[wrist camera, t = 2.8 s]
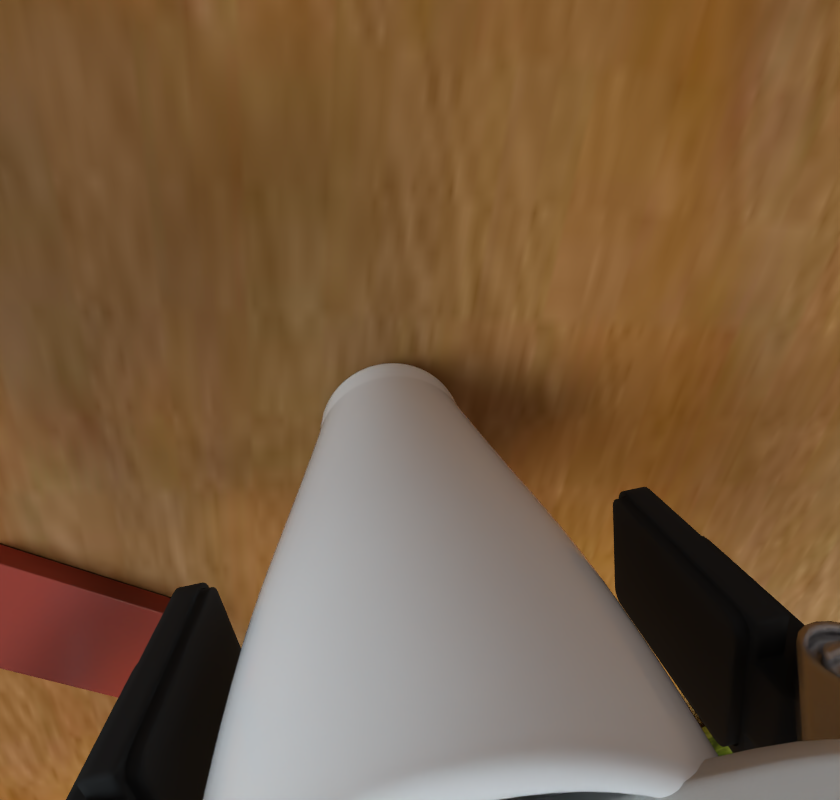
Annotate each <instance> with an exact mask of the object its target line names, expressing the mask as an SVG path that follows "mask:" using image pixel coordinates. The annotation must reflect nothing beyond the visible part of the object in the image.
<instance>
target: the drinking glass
mask: <svg viewBox="0 0 840 800" xmlns="http://www.w3.org/2000/svg"><path fill="white" fill-rule="evenodd" d="M714 757H718V754H717V752H716V751H715V749H714V748H713V746H712V744H711V743H710V741H709V739H708V738H707V736H706V735H705V733H704V731H703V730H702V728H701V727H700V725H699V723H698V722H697V720H696V719H695V717H694V715H693V714H692V712H691V711H690V709H689V707H688V706H687V704H686V703H685V701H684V699H683V698H682V696H681V695H680V693H679V692H678V690H677V688H676V687H675V685H674V684H673V682H672V681H671V679H670V677H669V676H668V674H667V673H666V671H665V670H664V668H663V667H662V665H661V664H660V662H659V661H658V659H657V658H656V656H655V655H654V653H653V652H652V650H651V649H650V647H649V645H648V644H647V642H646V641H645V640H644V638H643V637H642V635H641V634H640V632H639V631H638V629H637V628H636V626H635V625H634V623H633V622H632V621H631V619H630V618H629V616H628V615H627V613H626V612H625V610H624V609H623V608H622V606H621V605H620V603H619V602H618V601H617V599H616V598H615V596H614V595H613V594H612V592H611V591H610V589H609V588H608V587H607V585H606V584H605V583H604V581H603V580H602V578H601V577H600V576H599V574H598V573H597V572H596V570H595V569H594V568H593V566H592V565H591V564H590V562H589V561H588V560H587V558H586V557H585V556H584V554H583V553H582V552H581V551H580V549H579V548H578V547H577V546H576V544H575V543H574V542H573V541H572V539H571V538H570V537H569V535H568V534H567V533H566V532H565V531H564V529H563V528H562V527H561V526H560V525H559V523H558V522H557V521H556V520H555V519H554V518H553V516H552V515H551V514H550V513H549V512H548V510H547V509H546V508H545V507H544V506H543V505H542V503H541V502H540V501H539V500H538V499H537V498H536V497H535V495H534V494H533V493H532V492H531V491H530V490H529V489H528V487H527V486H526V485H525V484H524V483H523V482H522V480H521V479H520V478H519V477H518V476H517V475H516V474H515V472H514V471H513V470H512V469H511V468H510V467H509V466H508V464H507V463H506V462H505V461H504V460H503V459H502V458H501V456H500V455H499V454H498V453H497V452H496V451H495V449H494V448H493V447H492V446H491V445H490V444H489V442H488V441H487V440H486V439H485V438H484V437H483V435H482V434H481V433H480V432H479V431H478V429H477V428H476V427H475V426H474V425H473V424H472V422H471V421H470V420H469V419H468V418H467V416H466V415H465V414H464V413H463V412H462V410H461V409H460V408H459V407H458V405H457V403H456V401H455V400H454V398H453V396H452V395H451V393H450V392H449V390H448V389H447V388H446V387H445V386H444V385H443V384H442V382H440V381H439V380H438V379H437V378H436V377H434V376H433V375H431V374H430V373H428V372H426V371H425V370H422V369H420V368H418V367H414V366H411V365H407V364H400V363H385V364H378V365H374V366H370V367H368V368H365V369H363V370H360V371H358V372H357V373H355V374H353V375H352V376H350V377H349V378H347V379H346V380H345V381H344V382H343V383H342V384H341V385H340V386H339V387H338V388H337V389H336V390H335V392H334V393H333V394H332V396H331V398H330V399H329V401H328V403H327V405H326V407H325V410H324V413H323V417H322V422H321V427H320V433H319V436H318V439H317V441H316V444H315V447H314V450H313V452H312V455H311V458H310V460H309V463H308V466H307V469H306V471H305V474H304V477H303V479H302V482H301V484H300V487H299V490H298V492H297V495H296V498H295V500H294V503H293V505H292V508H291V511H290V513H289V516H288V518H287V521H286V524H285V526H284V529H283V531H282V534H281V537H280V539H279V542H278V544H277V547H276V550H275V552H274V555H273V558H272V560H271V563H270V566H269V568H268V571H267V574H266V576H265V579H264V582H263V585H262V587H261V590H260V593H259V596H258V599H257V602H256V605H255V608H254V611H253V614H252V617H251V620H250V623H249V626H248V629H247V632H246V635H245V638H244V642H243V645H242V648H241V651H240V655H239V658H238V661H237V665H236V668H235V672H234V675H233V679H232V682H231V686H230V690H229V693H228V697H227V701H226V704H225V708H224V712H223V716H222V720H221V724H220V728H219V732H218V736H217V740H216V744H215V748H214V752H213V756H212V761H211V765H210V769H209V773H208V777H207V782H206V786H205V791H204V795H203V800H538V799H542V798H546V797H551V796H555V795H559V794H563V793H567V792H610V793H623V794H631V795H640V796H647V797H651V798H663V797H667V796H669V795H672V794H673V793H675V792H676V791H678V790H679V789H680V787H681V786H682V784H683V783H684V782H685V781H686V780H688V779H689V778H690V777H692V776H693V775H694V774H695V773H696V772H697V770H698V768H699V767H700V765H701V763H702V762H703V761H704V760H705V759H709V758H714Z"/></svg>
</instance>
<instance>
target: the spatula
mask: <svg viewBox="0 0 840 800" xmlns="http://www.w3.org/2000/svg"><path fill="white" fill-rule="evenodd" d="M170 599H171V598H168V597H165V596H162V595H159V594H156V593H153V592H149V591H146V590H143V589H140V588H137V587H134V586H130V585H127V584H124V583H121V582H118V581H115V580H111V579H108V578H105V577H102V576H99V575H96V574H92V573H89V572H86V571H83V570H80V569H77V568H73V567H70V566H67V565H64V564H61V563H58V562H54V561H51V560H48V559H45V558H42V557H39V556H35V555H32V554H29V553H26V552H23V551H20V550H16V549H13V548H10V547H7V546H4V545H1V544H0V668H2V669H6V670H10V671H14V672H18V673H22V674H26V675H30V676H34V677H38V678H42V679H46V680H50V681H54V682H58V683H62V684H66V685H70V686H74V687H78V688H82V689H86V690H90V691H94V692H98V693H102V694H106V695H110V696H114V697H118V698H119V696H120V694H121V692H122V690H123V688H124V686H125V684H126V682H127V680H128V678H129V676H130V674H131V672H132V671H133V669H134V668H135V666H136V665H137V663H138V662H139V660H140V658H141V656H142V654H143V652H144V650H145V648H146V646H147V644H148V642H149V640H150V638H151V636H152V634H153V632H154V630H155V628H156V626H157V624H158V622H159V621H160V619H161V617H162V615H163V613H164V611H165V609H166V607H167V605H168V603H169V601H170Z"/></svg>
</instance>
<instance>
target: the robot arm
mask: <svg viewBox="0 0 840 800" xmlns="http://www.w3.org/2000/svg"><path fill="white" fill-rule="evenodd" d="M613 523H614V561H615V590H616V594H617V597H618V600H619V602H620V604H621V605H622V607H623V608H624V610H625V611H626V613H627V614H628V615H629V617H630V618H631V620H632V621H633V623H634V624H635V626H636V627H637V628H638V630H639V631H640V633H641V634H642V636H643V637H644V639H645V640H646V641H647V643H648V644H649V646H650V647H651V649H652V650H653V651H654V653H655V654H656V656H657V657H658V659H659V660H660V662H661V663H662V664H663V666H664V667H665V669H666V670H667V672H668V673H669V675H670V676H671V677H672V679H673V680H674V682H675V683H676V685H677V686H678V687H679V689H680V690H681V692H682V693H683V695H684V696H685V698H686V699H687V700H688V702H689V703H690V705H691V706H692V708H693V709H694V711H695V712H696V713H697V715H698V716H699V718H700V719H701V721H702V722H703V724H704V725H705V726H706V728H707V729H708V731H709V732H710V734H711V735H712V736H713V738H714V739H715V740H716V742H717V743H718V744H719V745H720V746H722V747H726V746H728V747H729V748H730V749H731V751H732V752H733V753H732V754H727V755H723V756H718V757H714V758H709V759H705V760H704V761H703V762H702V763H701V765H700V767H699V768H698V770H697V772H696V773H695V774H694V775H693V776H692V777H690V778H689V779H688V780H686V781H685V782H684V783H683V784H682V786H681V787H680V789H679V790H678V791H676V792H675V793H673V794H672V795H669V796H667V797H663V798H651V797H647V796H640V795H631V794H623V793H610V792H567V793H563V794H559V795H555V796H551V797H546V798H542V799H538V800H840V623H838V622H832V621H821V622H813V623H810V624H807V625H804V624H803V623H802V622H800V621H799V620H798V619H797V618H796V617H795V616H794V615H793V614H791V613H790V612H789V611H788V610H787V609H786V608H785V607H784V606H782V605H781V604H780V603H779V602H778V601H777V600H776V599H775V598H774V597H772V596H771V595H770V594H769V593H768V592H767V591H766V590H765V589H763V588H762V587H761V586H760V585H759V584H758V583H757V582H756V581H754V580H753V579H752V578H751V577H750V576H749V575H748V574H747V573H746V572H744V571H743V570H742V569H741V568H740V567H739V566H738V565H737V564H735V563H734V562H733V561H732V560H731V559H730V558H729V557H728V556H726V555H725V554H724V553H723V552H722V551H721V550H720V549H719V548H717V547H716V546H715V545H714V544H713V543H712V542H711V541H710V540H708V539H707V538H705V537H704V536H701V535H700V534H699V533H698V532H696V531H695V530H694V529H693V528H692V527H691V526H690V525H689V524H688V523H686V522H685V521H684V520H683V519H682V518H681V517H680V516H679V515H678V514H676V513H675V512H674V511H673V510H672V509H671V508H670V507H669V506H668V505H666V504H665V503H664V502H663V501H662V500H661V499H660V498H659V497H658V496H656V495H655V494H654V493H653V492H652V491H651V490H650V489H648V488H647V487H641V488H636V489H632V490H627V491H623V492H621V493H620V495H619V499H616V500H614V502H613ZM240 651H241V647H240V645H239V643H238V640H237V638H236V635H235V633H234V630H233V628H232V625H231V623H230V621H229V618H228V616H227V613H226V611H225V608H224V606H223V603H222V601H221V598H220V596H219V594H218V591H217V590H216V588H215V587H211V588H209V587H208V585H207V584H206V583H199V584H194V585H189V586H185V587H180V588H178V589H176V590H175V592H174V593H173V595H172V597H171V599H170V601H169V603H168V605H167V607H166V609H165V611H164V613H163V615H162V617H161V619H160V621H159V622H158V624H157V626H156V628H155V630H154V632H153V634H152V636H151V638H150V640H149V642H148V644H147V646H146V648H145V650H144V652H143V654H142V656H141V658H140V660H139V662H138V663H137V665H136V666H135V668H134V669H133V671H132V672H131V674H130V676H129V678H128V680H127V682H126V684H125V686H124V688H123V690H122V692H121V694H120V696H119V698H118V700H117V702H116V704H115V705H114V707H113V709H112V711H111V713H110V715H109V717H108V719H107V721H106V723H105V725H104V727H103V729H102V731H101V733H100V735H99V737H98V739H97V741H96V742H95V744H94V746H93V748H92V750H91V752H90V754H89V756H88V758H87V760H86V762H85V764H84V766H83V768H82V770H81V772H80V774H79V776H78V778H77V779H76V781H75V783H74V785H73V787H72V789H71V791H70V793H69V795H68V797H67V799H66V800H203V795H204V791H205V786H206V782H207V777H208V773H209V769H210V765H211V761H212V756H213V752H214V748H215V744H216V740H217V736H218V732H219V728H220V724H221V720H222V716H223V712H224V708H225V704H226V701H227V697H228V693H229V690H230V686H231V682H232V679H233V675H234V672H235V668H236V665H237V661H238V658H239V655H240Z"/></svg>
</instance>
